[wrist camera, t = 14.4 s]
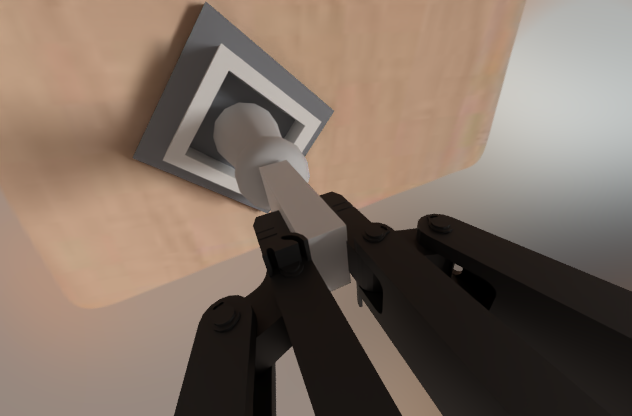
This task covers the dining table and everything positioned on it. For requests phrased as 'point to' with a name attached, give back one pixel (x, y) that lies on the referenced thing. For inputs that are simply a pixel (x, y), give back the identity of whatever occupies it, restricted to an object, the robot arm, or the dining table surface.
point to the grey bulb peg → (254, 148)
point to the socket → (223, 104)
